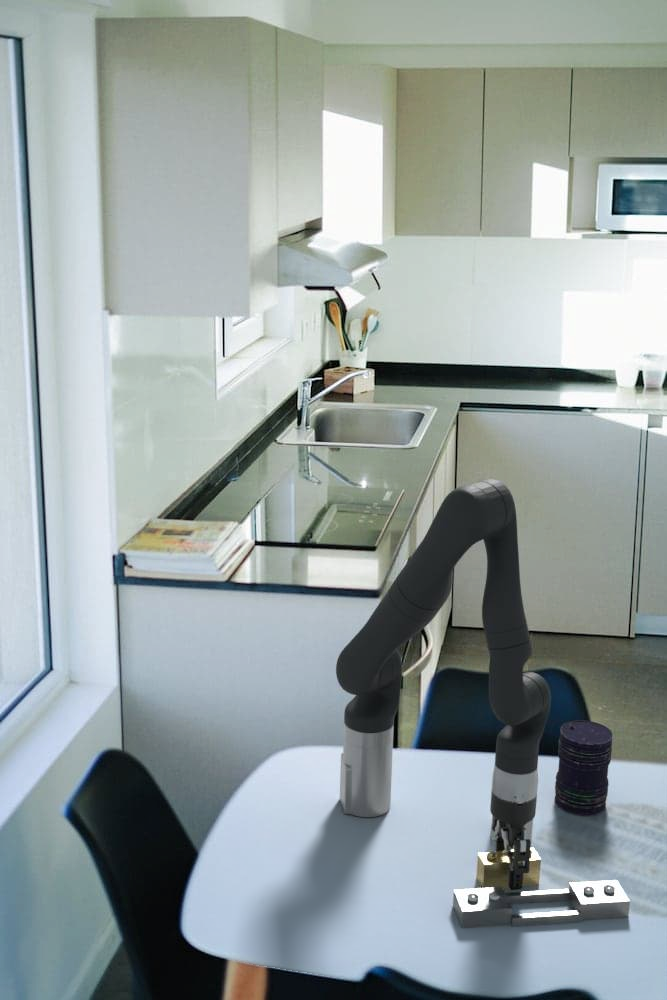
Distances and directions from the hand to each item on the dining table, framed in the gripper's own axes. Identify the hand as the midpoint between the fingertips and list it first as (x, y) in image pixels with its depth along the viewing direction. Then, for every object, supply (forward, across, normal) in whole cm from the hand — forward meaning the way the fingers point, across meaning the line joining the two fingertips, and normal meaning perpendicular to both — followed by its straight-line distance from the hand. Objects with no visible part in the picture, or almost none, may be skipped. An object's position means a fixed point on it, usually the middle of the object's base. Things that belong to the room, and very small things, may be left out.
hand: (508, 874), depth 212 cm
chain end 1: (+1, +9, -4) cm, 10 cm away
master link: (+2, 0, 0) cm, 2 cm away
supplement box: (+2, -15, +5) cm, 16 cm away
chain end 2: (+1, +9, +10) cm, 14 cm away
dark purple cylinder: (+2, -24, +21) cm, 32 cm away
